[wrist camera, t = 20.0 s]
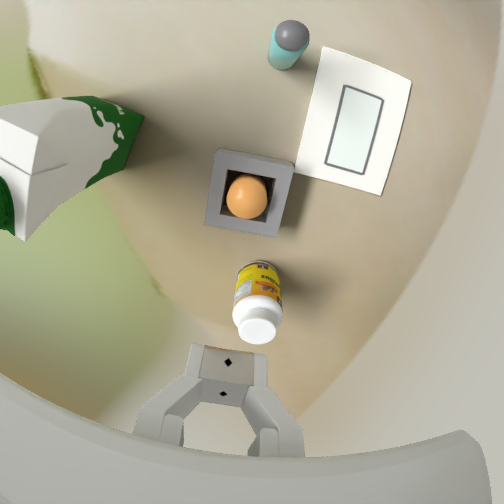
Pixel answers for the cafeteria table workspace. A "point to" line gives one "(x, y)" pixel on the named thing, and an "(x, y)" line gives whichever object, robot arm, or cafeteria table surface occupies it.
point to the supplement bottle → (257, 302)
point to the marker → (287, 44)
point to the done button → (247, 196)
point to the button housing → (254, 165)
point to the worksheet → (352, 122)
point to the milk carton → (57, 154)
